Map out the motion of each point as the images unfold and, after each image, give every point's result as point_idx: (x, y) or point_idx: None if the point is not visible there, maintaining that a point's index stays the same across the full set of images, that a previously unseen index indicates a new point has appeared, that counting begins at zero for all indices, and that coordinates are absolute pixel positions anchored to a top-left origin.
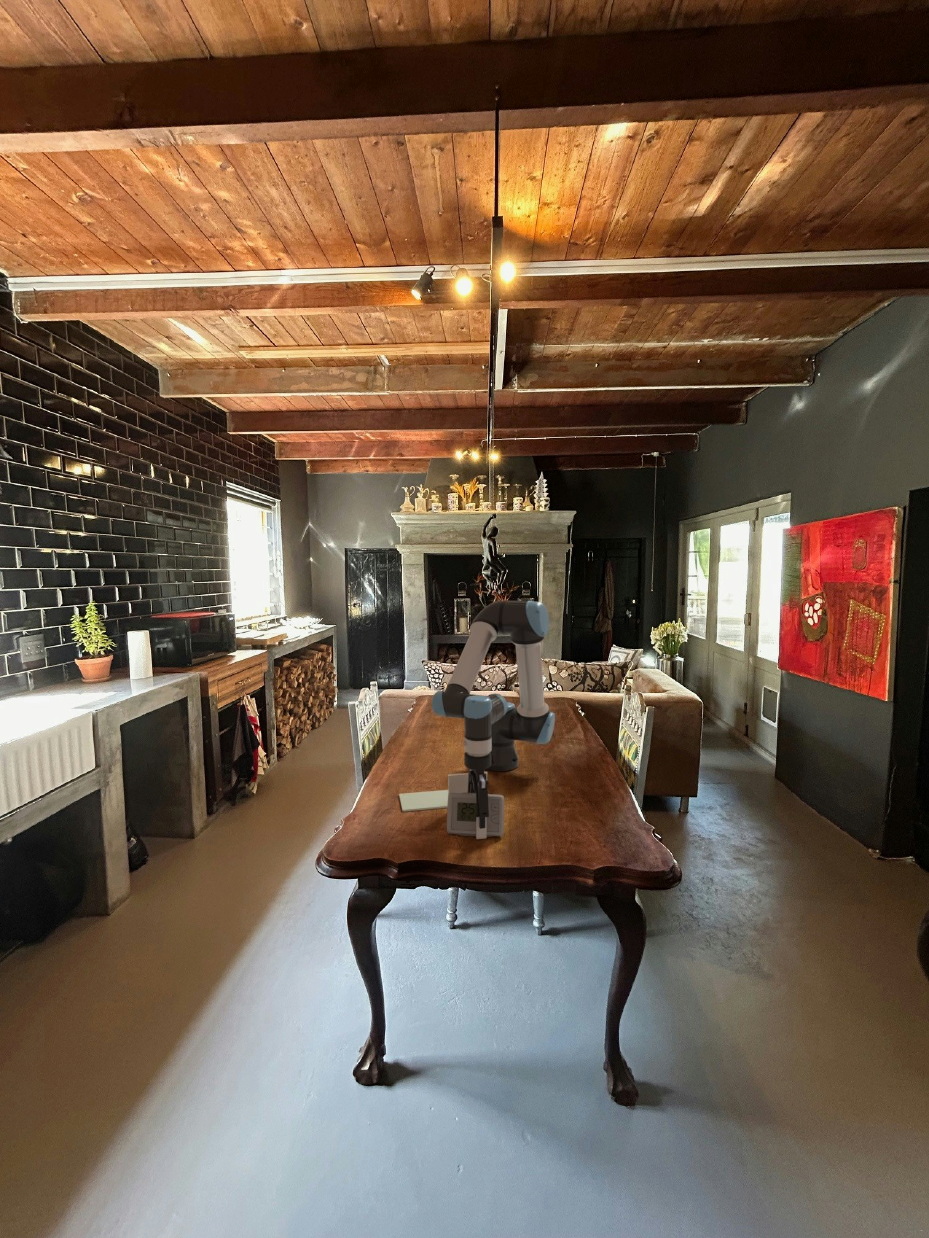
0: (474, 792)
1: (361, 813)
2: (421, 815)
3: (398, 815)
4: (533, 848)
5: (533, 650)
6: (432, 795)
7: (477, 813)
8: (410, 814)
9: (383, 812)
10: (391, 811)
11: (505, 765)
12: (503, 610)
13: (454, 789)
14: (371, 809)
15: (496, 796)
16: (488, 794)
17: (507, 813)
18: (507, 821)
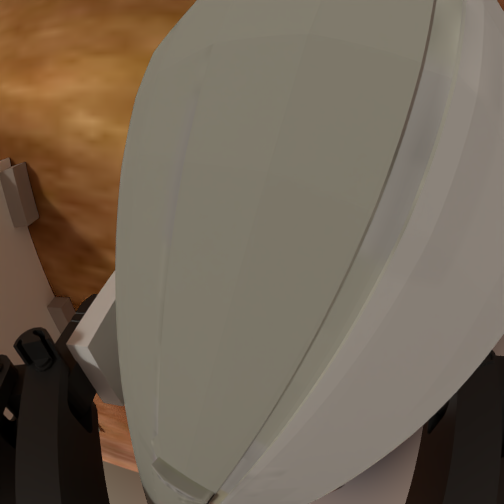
0: (87, 474)
1: (131, 469)
2: (108, 406)
3: (123, 439)
4: (499, 2)
5: None
6: None
7: (430, 418)
8: (110, 422)
9: (116, 451)
10: (106, 441)
11: None
12: None
13: (7, 414)
14: (108, 457)
15: (458, 383)
16: (229, 502)
17: (35, 35)
18: (130, 25)
